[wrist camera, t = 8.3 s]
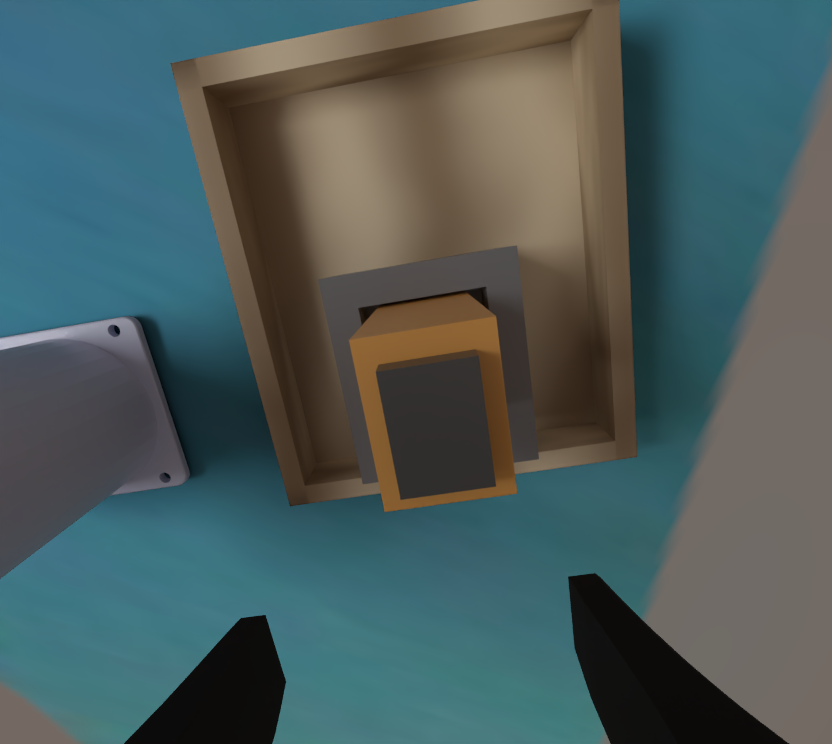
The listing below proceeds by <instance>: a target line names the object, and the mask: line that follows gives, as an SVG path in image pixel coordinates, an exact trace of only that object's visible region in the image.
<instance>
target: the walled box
mask: <svg viewBox="0 0 832 744" xmlns="http://www.w3.org/2000/svg"><path fill="white" fill-rule="evenodd" d="M170 64H171V67H172V71H173V75H174V78H175V82H176V86H177V90H178V93H179V97H180V101H181V104H182V108H183V112H184V115H185V119H186V123H187V126H188V130H189V134H190V138H191V141H192V145H193V149H194V152H195V156H196V160H197V163H198V167H199V171H200V175H201V178H202V182H203V186H204V189H205V193H206V197H207V200H208V204H209V208H210V212H211V215H212V219H213V223H214V226H215V230H216V234H217V237H218V241H219V245H220V248H221V252H222V256H223V260H224V263H225V267H226V271H227V274H228V278H229V282H230V285H231V289H232V293H233V297H234V300H235V304H236V308H237V311H238V315H239V319H240V322H241V326H242V330H243V334H244V337H245V341H246V345H247V348H248V352H249V356H250V359H251V363H252V367H253V370H254V374H255V378H256V382H257V385H258V389H259V393H260V396H261V400H262V404H263V407H264V411H265V415H266V419H267V422H268V426H269V430H270V433H271V437H272V441H273V444H274V448H275V452H276V456H277V459H278V463H279V467H280V470H281V474H282V478H283V481H284V485H285V489H286V492H287V496H288V500H289V504H290V506H294V505H301V504H308V503H315V502H322V501H329V500H336V499H343V498H350V497H358V496H365V495H372V494H379V493H381V491H380V486H379V482H376V483H369V484H363V483H362V479H361V474H360V469H359V465H358V460H357V456H356V451H355V447H354V442H353V438H352V433H351V428H350V424H349V419H348V415H347V410H346V406H345V401H344V397H343V392H342V387H341V383H340V378H339V374H338V369H337V365H336V360H335V355H334V351H333V346H332V342H331V337H330V333H329V328H328V324H327V319H326V314H325V310H324V305H323V301H322V296H321V292H320V287H319V283H318V279H323V278H327V277H332V276H337V275H342V274H348V273H354V272H360V271H366V270H371V269H377V268H383V267H389V266H395V265H401V264H406V263H412V262H418V261H424V260H430V259H436V258H441V257H447V256H453V255H459V254H465V253H471V252H476V251H482V250H488V249H494V248H500V247H508V246H516V245H517V249H518V259H519V269H520V279H521V288H522V298H523V308H524V318H525V327H526V337H527V347H528V357H529V366H530V376H531V386H532V395H533V405H534V415H535V425H536V434H537V444H538V454H539V459H537V460H530V461H523V462H516V463H514V470H515V474H520V473H527V472H534V471H541V470H548V469H555V468H562V467H569V466H576V465H583V464H590V463H597V462H605V461H612V460H619V459H626V458H633V457H637V440H636V414H635V389H634V364H633V339H632V314H631V289H630V263H629V238H628V213H627V188H626V163H625V137H624V112H623V87H622V62H621V37H620V12H619V0H478V1H474V2H469V3H464V4H459V5H454V6H449V7H444V8H439V9H434V10H430V11H425V12H420V13H415V14H410V15H405V16H400V17H395V18H390V19H386V20H381V21H376V22H371V23H366V24H361V25H356V26H351V27H346V28H341V29H337V30H332V31H327V32H322V33H317V34H312V35H307V36H302V37H297V38H293V39H288V40H283V41H278V42H273V43H268V44H263V45H258V46H253V47H248V48H244V49H239V50H234V51H229V52H224V53H219V54H214V55H209V56H204V57H200V58H195V59H190V60H185V61H180V62H175V63H170Z"/></svg>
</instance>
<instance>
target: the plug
mask: <svg viewBox="0 0 832 744" xmlns="http://www.w3.org/2000/svg"><path fill="white" fill-rule="evenodd" d="M349 343H350V348H351V353H352V357H353V362H354V367H355V372H356V377H357V381H358V386H359V391H360V396H361V400H362V405H363V410H364V415H365V420H366V424H367V429H368V434H369V439H370V443H371V448H372V453H373V458H374V463H375V467H376V472H377V477H378V482H379V486H380V491H381V496H382V501H383V506H384V510H385V512H389V511H396V510H403V509H410V508H417V507H424V506H432V505H439V504H446V503H453V502H460V501H467V500H475V499H482V498H489V497H496V496H503V495H510V494H517V487H516V478H515V470H514V461H513V453H512V445H511V436H510V428H509V420H508V411H507V403H506V395H505V386H504V378H503V370H502V361H501V353H500V345H499V336H498V328H497V319H496V316H495V315H494V314H493V313H492V312H490V311H489V310H488V309H487V308H485V307H484V306H483V305H482V304H480V303H479V302H478V301H477V300H475V299H474V298H473V297H472V296H470V295H469V294H468V293H467V292H465V291H464V290H463V291H457V292H451V293H445V294H439V295H433V296H427V297H421V298H415V299H409V300H403V301H397V302H391V303H385V304H381V305H380V306H379V307H378V308H377V309H376V310H375V311H374V312H373V314H372V315H371V316H370V317H369V318H368V319H367V320H366V321H365V323H364V324H363V325H362V326H361V327H360V328H359V329H358V330H357V332H356V333H355V334H354V335H353V336H352V337H351V338H350V339H349Z"/></svg>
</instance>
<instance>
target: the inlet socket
mask: <svg viewBox="0 0 832 744" xmlns="http://www.w3.org/2000/svg"><path fill="white" fill-rule="evenodd" d="M318 283H319V287H320V292H321V296H322V301H323V305H324V310H325V314H326V319H327V324H328V328H329V333H330V337H331V342H332V346H333V351H334V355H335V360H336V365H337V369H338V374H339V378H340V383H341V387H342V392H343V397H344V401H345V406H346V410H347V415H348V419H349V424H350V428H351V433H352V438H353V442H354V447H355V451H356V456H357V460H358V465H359V469H360V474H361V479H362V483H363V484H369V483H376V482H378V477H377V472H376V467H375V463H374V458H373V453H372V448H371V443H370V439H369V434H368V429H367V424H366V420H365V415H364V410H363V405H362V400H361V396H360V391H359V386H358V381H357V377H356V372H355V367H354V362H353V357H352V353H351V348H350V343H349V339H350V338H351V337H352V336H353V335H354V334H355V333H356V332H357V330H358V329H359V328H360V327H361V326H362V325H363V324H364V323H365V321H366V320H367V319H368V318H369V317H370V316H371V315H372V314H373V312H374V311H375V310H376V309H377V308H378V307H379V306H380V305H381V304H385V303H391V302H397V301H403V300H409V299H415V298H421V297H427V296H433V295H439V294H445V293H451V292H457V291H463V290H464V291H465V292H467V293H468V294H469V295H470V296H472V297H473V298H474V299H475V300H477V301H478V302H479V303H480V304H482V305H483V306H484V307H485V308H487V309H488V310H489V311H490V312H492V313H493V314H494V315H495V316H496V319H497V328H498V336H499V345H500V353H501V361H502V370H503V378H504V386H505V395H506V403H507V411H508V420H509V428H510V436H511V445H512V453H513V461H514V463H516V462H523V461H530V460H537V459H539V454H538V444H537V434H536V425H535V415H534V405H533V395H532V386H531V376H530V366H529V357H528V347H527V337H526V327H525V318H524V308H523V298H522V288H521V279H520V269H519V259H518V249H517V245H516V246H508V247H500V248H494V249H488V250H482V251H476V252H471V253H465V254H459V255H453V256H447V257H441V258H436V259H430V260H424V261H418V262H412V263H406V264H401V265H395V266H389V267H383V268H377V269H371V270H366V271H360V272H354V273H348V274H342V275H337V276H332V277H327V278H323V279H318Z"/></svg>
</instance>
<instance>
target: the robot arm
mask: <svg viewBox="0 0 832 744" xmlns="http://www.w3.org/2000/svg"><path fill="white" fill-rule="evenodd" d="M115 325H116V326H118V327H119V329H120V334H119V335H118V334H117V333H116V332H115V330H114V327H115ZM164 473H167V474H169V475H170V477H171V479H170V478H167V477H166V476H165V475H164ZM189 476H190V472H189V468H188V465H187V462H186V459H185V456H184V453H183V450H182V447H181V444H180V441H179V438H178V435H177V432H176V429H175V426H174V423H173V420H172V417H171V414H170V411H169V408H168V405H167V402H166V399H165V395H164V392H163V389H162V386H161V383H160V380H159V377H158V374H157V371H156V368H155V365H154V362H153V359H152V356H151V353H150V350H149V347H148V344H147V341H146V338H145V335H144V332H143V329H142V326H141V324H140V322H139V321H138V320H137V319H136V318H134V317H132V316H125V317H119V318H113V319H107V320H102V321H96V322H90V323H84V324H78V325H72V326H67V327H61V328H55V329H49V330H43V331H37V332H31V333H26V334H20V335H14V336H8V337H2V338H0V579H1V578H2V577H3V576H5V575H6V574H7V573H9V572H10V571H11V570H12V569H14V568H15V567H16V566H18V565H19V564H20V563H22V562H23V561H24V560H26V559H27V558H28V557H30V556H31V555H32V554H33V553H35V552H36V551H37V550H39V549H40V548H41V547H43V546H44V545H45V544H47V543H48V542H49V541H51V540H52V539H53V538H54V537H56V536H57V535H58V534H60V533H61V532H62V531H64V530H65V529H66V528H68V527H69V526H70V525H72V524H73V523H74V522H75V521H77V520H78V519H79V518H81V517H82V516H83V515H85V514H86V513H87V512H89V511H90V510H91V509H93V508H94V507H95V506H96V505H98V504H99V503H100V502H102V501H103V500H104V499H106V498H107V497H108V496H110V495H116V494H123V493H130V492H136V491H143V490H150V489H157V488H164V487H171V486H177V485H181V484H183V483H184V482H185V481H186V480H187V479H188V478H189ZM568 579H569V590H570V601H571V612H572V623H573V634H574V645H575V650H576V653H577V656H578V660H579V663H580V666H581V669H582V672H583V675H584V678H585V681H586V684H587V687H588V690H589V693H590V696H591V699H592V701H593V704H594V706H595V708H596V711H597V713H598V715H599V718H600V720H601V722H602V725H603V727H604V729H605V732H606V734H607V736H608V738H609V741H610V743H611V744H789V743H787V742H786V741H784V740H783V739H782V738H781V737H779V736H778V735H776V734H775V733H774V732H773V731H771V730H770V729H769V728H768V727H766V726H765V725H764V724H762V723H761V722H760V721H758V720H757V719H756V718H754V717H753V716H752V715H750V714H749V713H748V712H747V711H745V710H744V709H743V708H742V707H740V706H739V705H738V704H737V703H736V702H734V701H733V700H732V699H731V698H729V697H728V696H727V695H726V694H724V693H723V692H722V691H721V690H720V689H719V688H717V687H716V686H715V685H714V684H713V683H711V682H710V681H709V680H708V679H707V678H706V677H704V676H703V675H702V674H701V673H700V672H698V671H697V670H696V669H695V668H694V667H693V666H691V665H690V664H689V663H688V662H687V661H686V660H685V659H683V658H682V657H681V656H680V655H679V654H678V653H677V652H676V651H674V649H673V648H672V647H670V646H669V645H668V644H667V643H666V642H665V641H664V640H663V639H662V638H661V637H660V636H658V635H657V634H656V633H655V632H654V631H653V630H652V629H651V628H650V627H649V626H648V625H647V624H646V623H645V622H644V621H643V620H642V619H641V618H640V617H639V616H638V615H637V614H636V613H635V612H634V611H633V610H632V609H631V608H630V607H629V606H628V605H627V604H626V603H625V602H624V601H623V600H622V599H621V598H620V597H619V596H618V595H617V594H616V593H615V592H614V591H613V590H612V589H611V588H610V587H609V586H608V585H607V584H606V583H605V582H604V581H603V580H602V579H601V577H599V576H598V575H597V574H595V573H594V574H586V575H578V576H570V577H568ZM285 684H286V680H285V677H284V674H283V671H282V667H281V664H280V661H279V658H278V654H277V651H276V648H275V645H274V641H273V638H272V635H271V632H270V628H269V625H268V622H267V619H266V615H262V616H254V617H246V618H241V619H240V620H239V621H238V622H237V623H236V624H235V625H234V626H233V627H232V628H231V629H230V630H229V631H228V632H227V634H226V635H225V636H224V637H223V638H222V639H221V640H220V641H219V642H218V643H217V645H216V646H215V647H214V648H213V649H212V650H211V651H210V652H209V653H208V655H207V656H206V657H205V658H204V659H203V660H202V661H201V662H200V663H199V665H198V666H197V667H196V668H195V669H194V670H193V671H192V672H191V673H190V674H189V676H188V677H187V678H186V679H185V680H184V681H183V682H182V683H181V684H180V685H179V686H178V688H177V689H176V690H175V691H174V692H173V693H172V694H171V695H170V696H169V697H168V698H167V700H166V701H165V702H164V703H163V704H162V705H161V706H160V707H159V708H158V709H157V710H156V711H155V712H154V713H153V714H152V715H151V716H150V717H149V718H148V719H147V720H146V721H145V722H144V723H143V725H142V726H141V727H140V728H139V729H138V730H137V731H136V732H135V733H134V734H133V735H132V736H131V737H130V738H129V739H128V740H127V741H126V742H125V743H124V744H272V742H273V739H274V736H275V732H276V727H277V723H278V718H279V714H280V709H281V704H282V699H283V694H284V689H285Z"/></svg>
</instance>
